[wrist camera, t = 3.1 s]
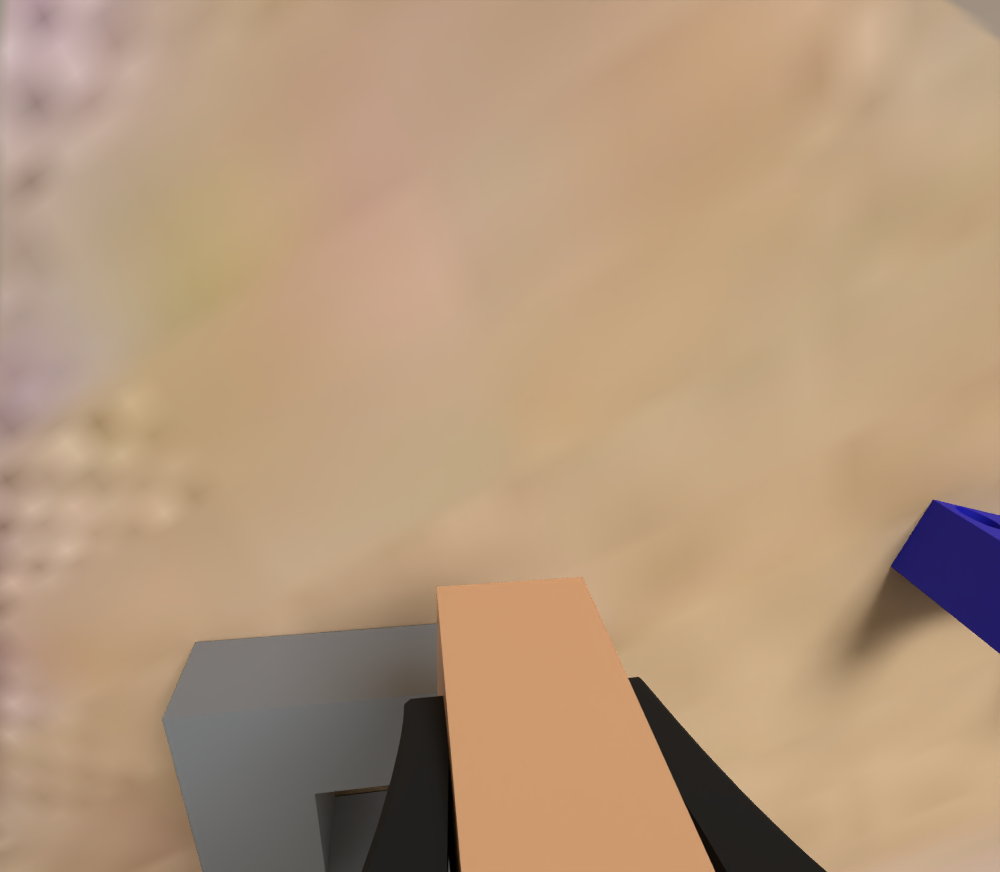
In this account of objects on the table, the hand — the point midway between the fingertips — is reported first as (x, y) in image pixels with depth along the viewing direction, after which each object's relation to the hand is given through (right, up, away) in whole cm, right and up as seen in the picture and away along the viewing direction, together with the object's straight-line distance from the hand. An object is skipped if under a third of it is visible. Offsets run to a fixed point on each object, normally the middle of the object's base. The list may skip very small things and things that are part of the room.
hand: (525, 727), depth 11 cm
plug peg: (0, +1, +2) cm, 2 cm away
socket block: (-5, -7, +12) cm, 14 cm away
